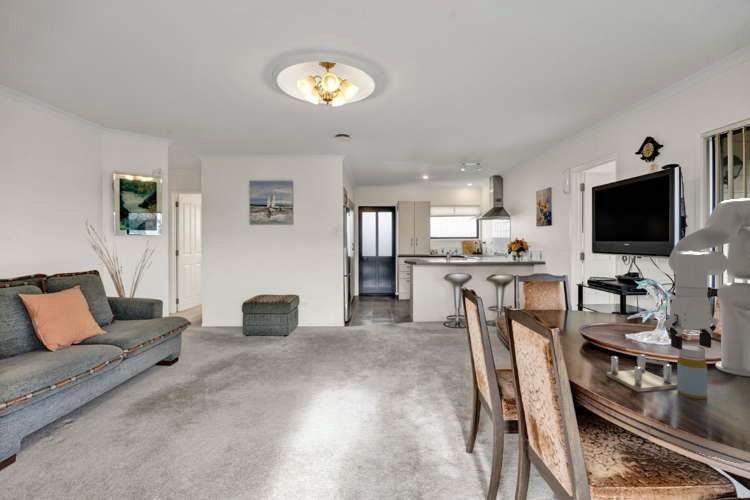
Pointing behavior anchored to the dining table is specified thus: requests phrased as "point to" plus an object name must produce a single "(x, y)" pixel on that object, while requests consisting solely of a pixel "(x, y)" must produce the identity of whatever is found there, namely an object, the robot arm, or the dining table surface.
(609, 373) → the holder base
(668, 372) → the holder pins
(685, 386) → the bottle
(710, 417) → the dining table surface
